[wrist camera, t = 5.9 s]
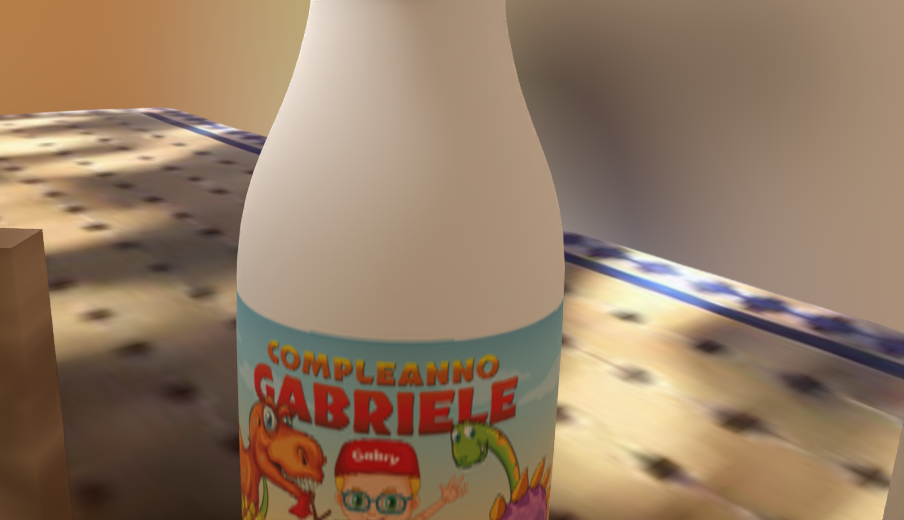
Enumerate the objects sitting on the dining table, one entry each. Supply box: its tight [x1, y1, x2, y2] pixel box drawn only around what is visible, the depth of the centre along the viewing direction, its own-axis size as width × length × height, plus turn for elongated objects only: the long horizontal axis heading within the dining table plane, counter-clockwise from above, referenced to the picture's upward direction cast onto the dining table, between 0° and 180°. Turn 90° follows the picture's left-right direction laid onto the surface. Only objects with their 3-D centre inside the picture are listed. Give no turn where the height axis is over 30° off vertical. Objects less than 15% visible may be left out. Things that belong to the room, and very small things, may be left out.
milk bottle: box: [237, 0, 565, 520], centre depth 20 cm, size 8×8×20 cm
